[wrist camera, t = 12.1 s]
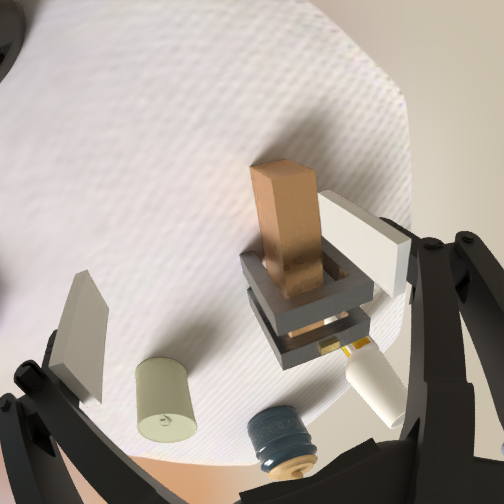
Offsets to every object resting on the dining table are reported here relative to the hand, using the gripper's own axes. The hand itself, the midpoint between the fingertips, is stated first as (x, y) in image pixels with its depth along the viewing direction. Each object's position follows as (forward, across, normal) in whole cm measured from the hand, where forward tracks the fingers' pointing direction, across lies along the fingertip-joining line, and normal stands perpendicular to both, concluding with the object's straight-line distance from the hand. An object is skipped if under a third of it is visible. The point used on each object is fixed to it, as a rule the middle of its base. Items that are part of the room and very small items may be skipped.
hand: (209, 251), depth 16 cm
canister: (+20, +1, -59) cm, 63 cm away
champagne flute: (+21, +17, -32) cm, 42 cm away
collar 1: (+21, +10, -16) cm, 28 cm away
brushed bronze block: (+21, +10, -14) cm, 28 cm away
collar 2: (+21, +10, -22) cm, 32 cm away
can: (+21, -14, -32) cm, 41 cm away
